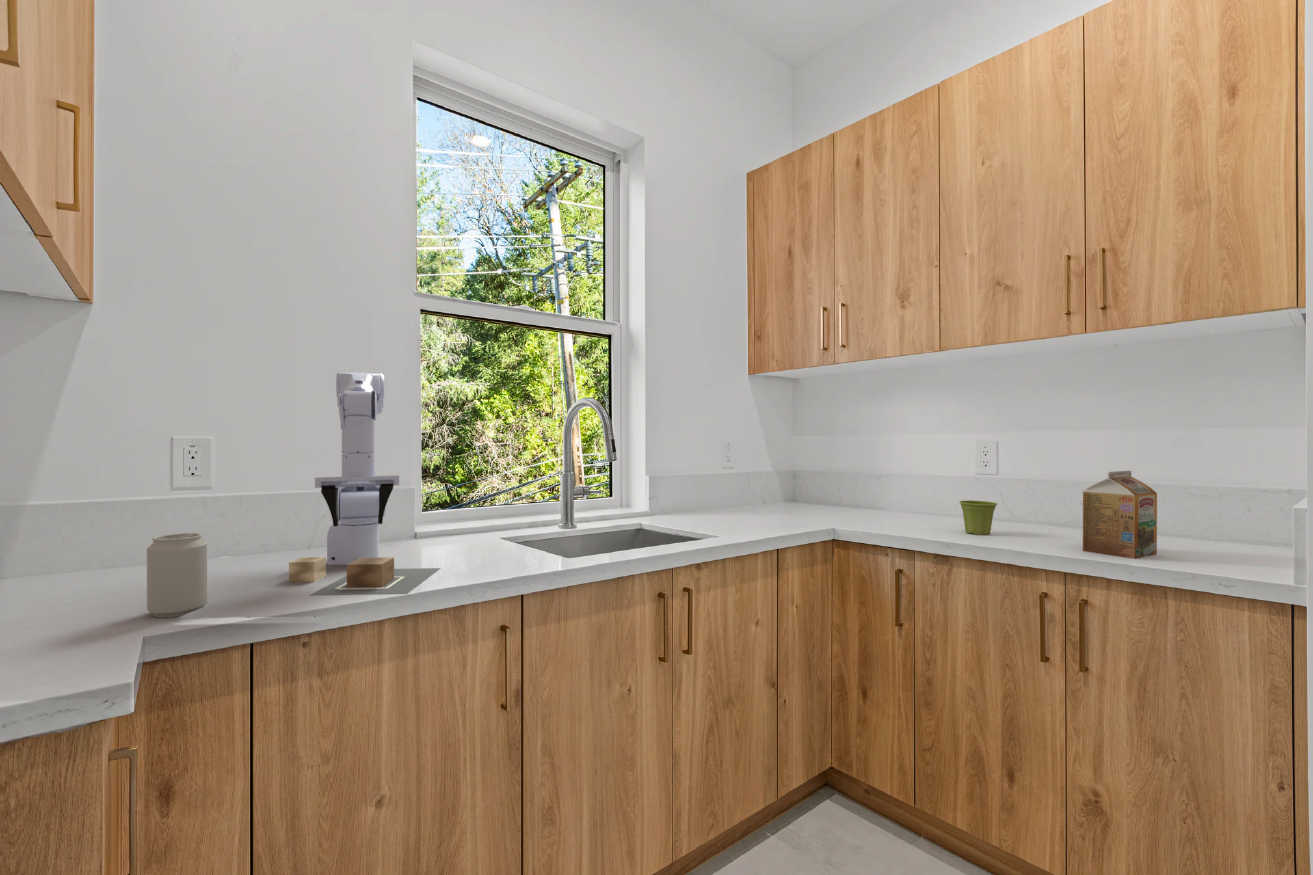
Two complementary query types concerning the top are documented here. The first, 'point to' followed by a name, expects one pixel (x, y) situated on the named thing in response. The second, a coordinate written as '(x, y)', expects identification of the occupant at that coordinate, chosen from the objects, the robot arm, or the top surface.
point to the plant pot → (978, 516)
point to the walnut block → (370, 572)
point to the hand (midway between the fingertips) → (358, 524)
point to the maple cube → (307, 569)
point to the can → (176, 574)
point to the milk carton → (1120, 517)
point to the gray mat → (399, 585)
